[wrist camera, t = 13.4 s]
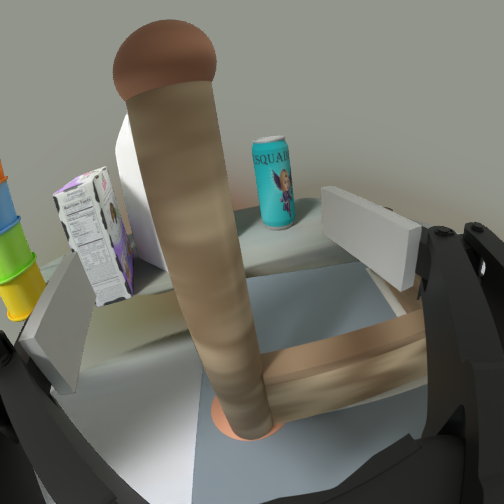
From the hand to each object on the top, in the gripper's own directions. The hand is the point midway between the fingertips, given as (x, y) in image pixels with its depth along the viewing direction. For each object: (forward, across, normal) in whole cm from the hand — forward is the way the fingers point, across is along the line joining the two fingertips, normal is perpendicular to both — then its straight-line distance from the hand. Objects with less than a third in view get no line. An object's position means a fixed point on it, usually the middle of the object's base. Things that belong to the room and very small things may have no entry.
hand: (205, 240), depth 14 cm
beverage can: (+30, +15, -14) cm, 36 cm away
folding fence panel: (-4, +6, -13) cm, 14 cm away
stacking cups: (+26, -31, -14) cm, 43 cm away
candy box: (+26, -13, -14) cm, 33 cm away
